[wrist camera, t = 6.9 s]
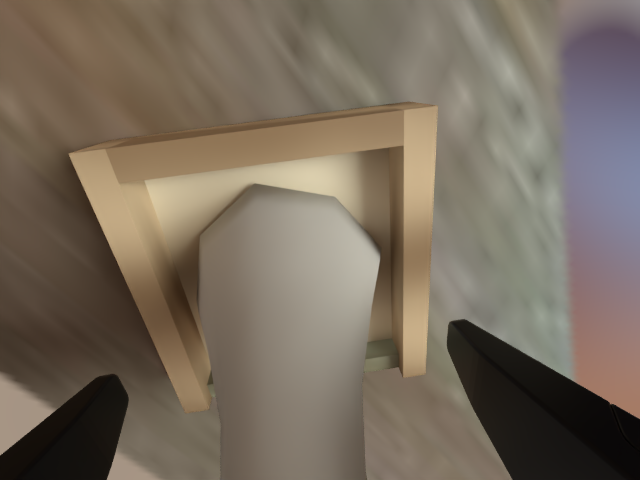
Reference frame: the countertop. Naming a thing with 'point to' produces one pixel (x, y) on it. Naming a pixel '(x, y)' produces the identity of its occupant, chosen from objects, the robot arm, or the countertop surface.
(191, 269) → the tray
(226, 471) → the flask
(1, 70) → the countertop surface
